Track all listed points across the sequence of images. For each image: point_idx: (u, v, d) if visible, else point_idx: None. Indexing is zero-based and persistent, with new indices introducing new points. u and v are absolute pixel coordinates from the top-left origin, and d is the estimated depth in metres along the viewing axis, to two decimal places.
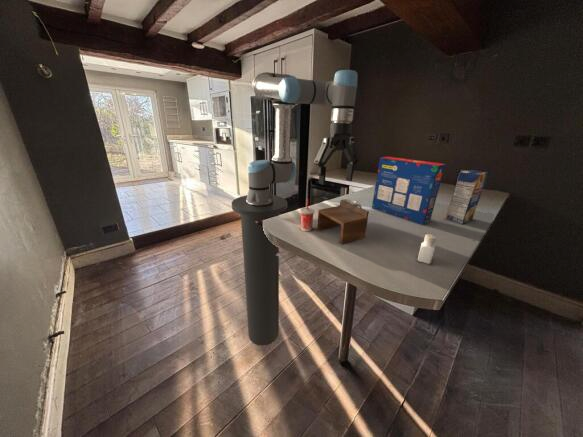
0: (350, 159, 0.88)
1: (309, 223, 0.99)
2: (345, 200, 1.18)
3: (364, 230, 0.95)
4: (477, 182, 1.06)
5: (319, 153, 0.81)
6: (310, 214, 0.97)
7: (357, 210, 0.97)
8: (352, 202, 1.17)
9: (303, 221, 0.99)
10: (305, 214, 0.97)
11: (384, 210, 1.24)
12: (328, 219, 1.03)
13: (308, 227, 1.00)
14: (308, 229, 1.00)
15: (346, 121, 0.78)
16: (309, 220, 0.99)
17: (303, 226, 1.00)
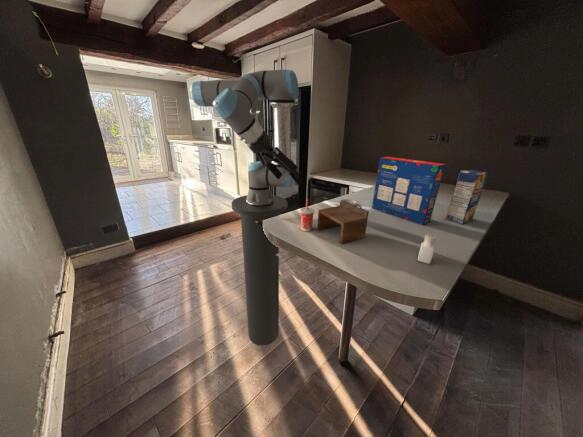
0: None
1: (309, 223, 0.99)
2: (345, 200, 1.18)
3: (364, 230, 0.95)
4: (477, 182, 1.06)
5: None
6: (310, 214, 0.97)
7: (357, 210, 0.97)
8: (352, 202, 1.17)
9: (303, 221, 0.99)
10: (305, 214, 0.97)
11: (384, 210, 1.24)
12: (328, 219, 1.03)
13: (308, 227, 1.00)
14: (308, 229, 1.00)
15: None
16: (309, 220, 0.99)
17: (303, 226, 1.00)
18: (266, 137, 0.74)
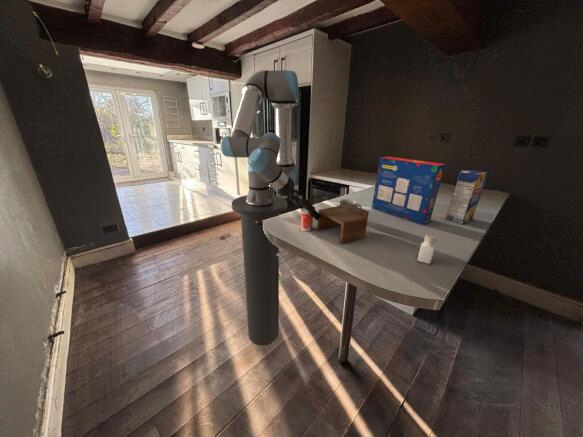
0: None
1: (309, 223, 0.99)
2: (345, 200, 1.18)
3: (364, 230, 0.95)
4: (477, 182, 1.06)
5: None
6: None
7: (357, 210, 0.97)
8: (352, 202, 1.17)
9: (303, 221, 0.99)
10: (305, 214, 0.97)
11: (384, 210, 1.24)
12: (328, 219, 1.03)
13: (308, 227, 1.00)
14: (308, 229, 1.00)
15: None
16: (309, 220, 0.98)
17: (303, 226, 1.00)
18: (291, 183, 0.87)
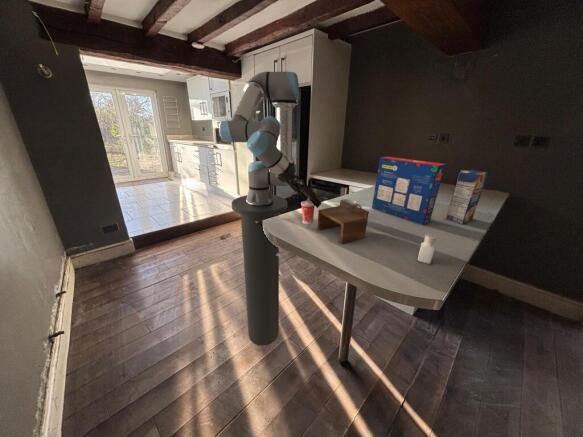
0: None
1: (310, 216, 0.98)
2: (345, 200, 1.18)
3: (364, 230, 0.95)
4: (477, 182, 1.06)
5: None
6: (311, 206, 0.96)
7: (357, 210, 0.97)
8: (352, 202, 1.17)
9: (304, 214, 0.98)
10: (306, 206, 0.96)
11: (384, 210, 1.24)
12: (328, 219, 1.03)
13: (310, 219, 0.99)
14: (310, 222, 0.99)
15: None
16: (310, 212, 0.97)
17: (304, 219, 0.99)
18: (291, 168, 0.84)
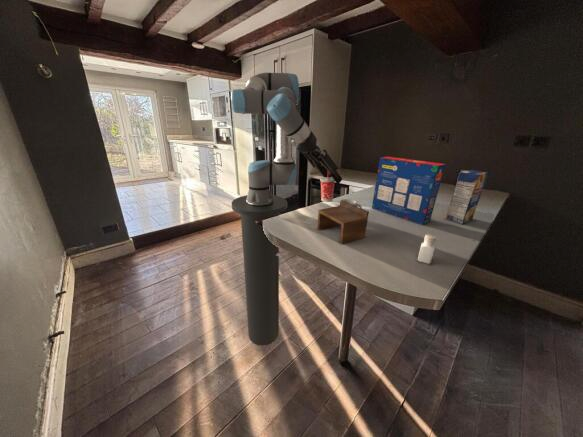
0: None
1: (330, 193, 0.92)
2: (345, 200, 1.18)
3: (364, 230, 0.95)
4: (477, 182, 1.06)
5: None
6: (331, 182, 0.90)
7: (357, 210, 0.97)
8: (352, 202, 1.17)
9: (324, 190, 0.92)
10: (326, 182, 0.90)
11: (384, 210, 1.24)
12: (328, 219, 1.03)
13: (330, 197, 0.93)
14: (329, 199, 0.93)
15: None
16: (331, 188, 0.91)
17: (324, 196, 0.93)
18: (313, 137, 0.79)
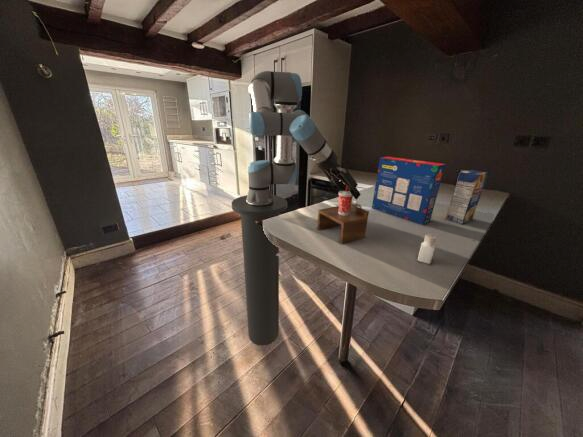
0: None
1: (348, 207, 0.93)
2: None
3: (364, 230, 0.95)
4: (477, 182, 1.06)
5: None
6: (350, 197, 0.91)
7: (357, 210, 0.97)
8: (352, 202, 1.17)
9: (342, 204, 0.93)
10: (345, 197, 0.91)
11: (384, 210, 1.24)
12: (328, 219, 1.03)
13: (347, 210, 0.94)
14: (347, 213, 0.94)
15: None
16: (349, 203, 0.92)
17: (341, 210, 0.94)
18: (334, 156, 0.80)
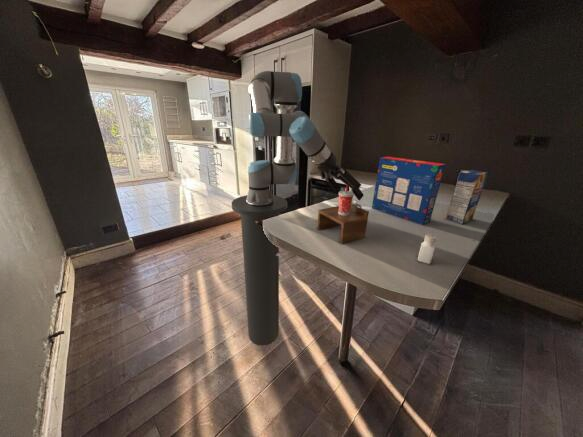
0: None
1: (348, 207, 0.93)
2: None
3: (364, 230, 0.95)
4: (477, 182, 1.06)
5: None
6: (350, 197, 0.91)
7: (357, 210, 0.97)
8: (352, 202, 1.17)
9: (342, 204, 0.93)
10: (345, 197, 0.91)
11: (384, 210, 1.24)
12: (328, 219, 1.03)
13: (347, 211, 0.94)
14: (347, 213, 0.94)
15: None
16: (349, 203, 0.92)
17: (341, 210, 0.94)
18: (333, 157, 0.80)
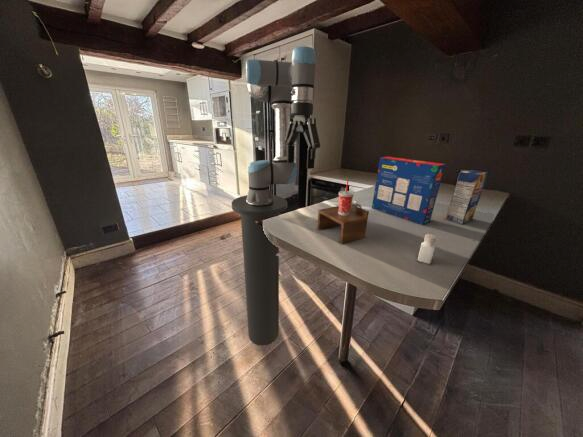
0: None
1: (348, 207, 0.93)
2: None
3: (364, 230, 0.95)
4: (477, 182, 1.06)
5: None
6: (350, 197, 0.91)
7: (357, 210, 0.97)
8: (352, 202, 1.17)
9: (342, 204, 0.93)
10: (345, 197, 0.91)
11: (384, 210, 1.24)
12: (328, 219, 1.03)
13: (347, 211, 0.94)
14: (347, 213, 0.94)
15: (292, 100, 0.78)
16: (349, 203, 0.92)
17: (341, 210, 0.94)
18: (311, 107, 0.78)
